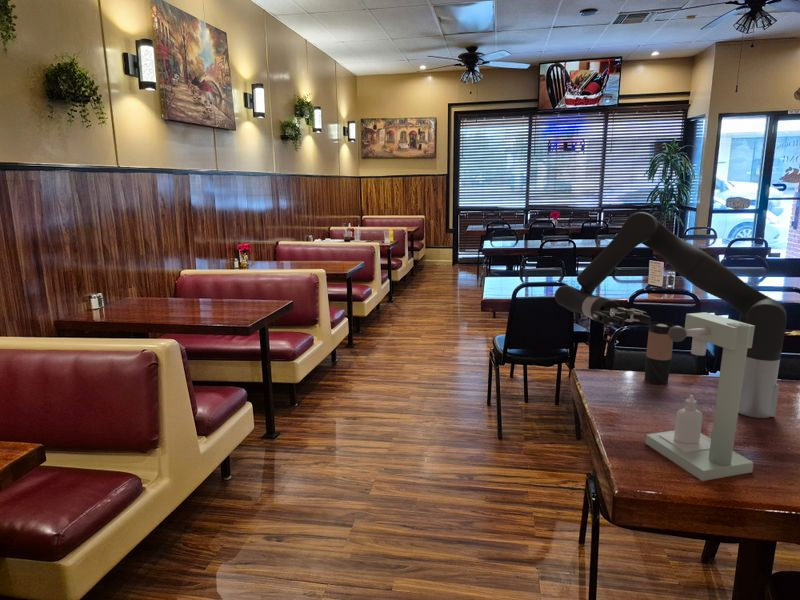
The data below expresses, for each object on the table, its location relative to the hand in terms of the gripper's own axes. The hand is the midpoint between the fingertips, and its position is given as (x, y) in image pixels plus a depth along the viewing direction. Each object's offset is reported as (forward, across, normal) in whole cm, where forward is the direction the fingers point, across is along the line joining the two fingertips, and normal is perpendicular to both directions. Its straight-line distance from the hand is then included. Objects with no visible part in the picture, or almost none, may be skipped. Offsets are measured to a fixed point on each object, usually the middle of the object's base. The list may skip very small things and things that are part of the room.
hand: (636, 321), depth 141 cm
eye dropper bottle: (+21, 0, +25) cm, 33 cm away
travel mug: (-21, +28, +28) cm, 45 cm away
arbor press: (+24, -3, +28) cm, 37 cm away
